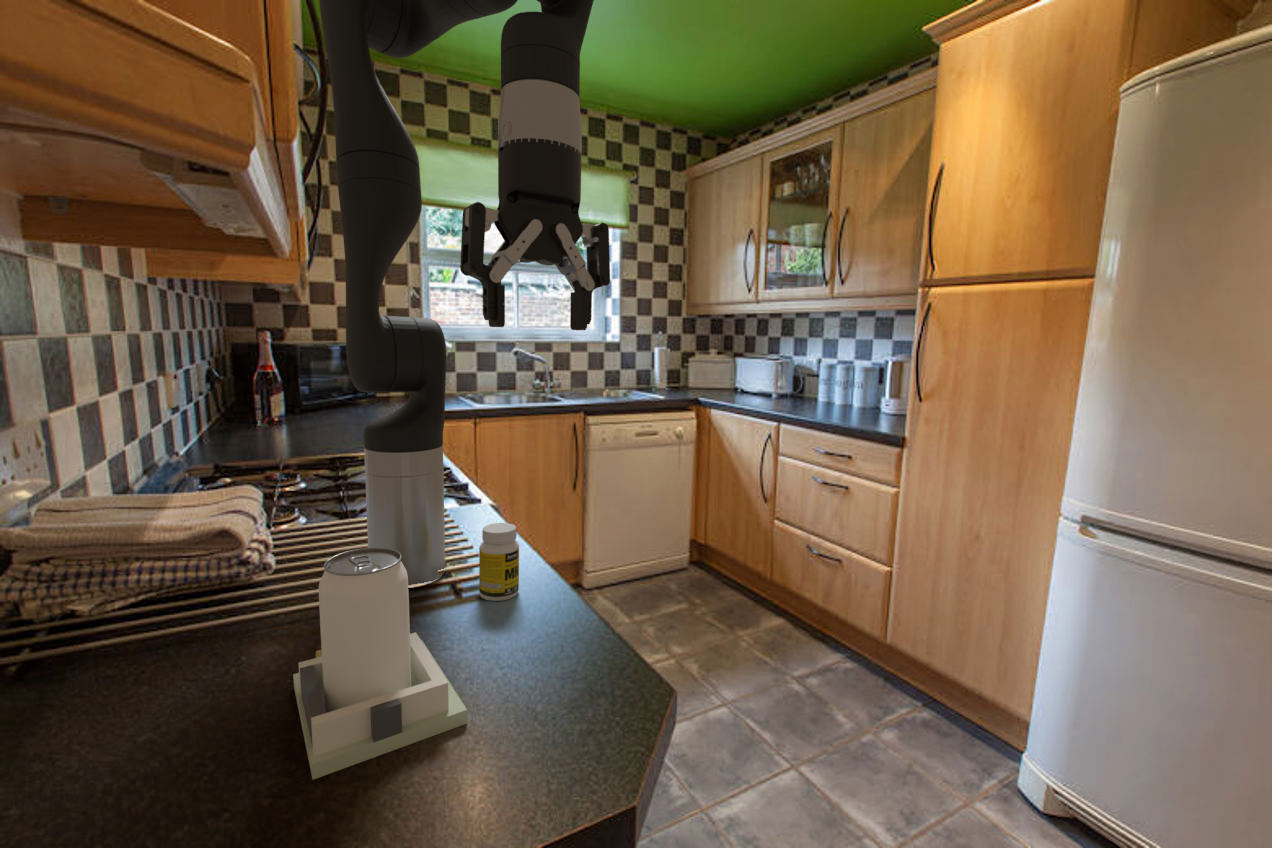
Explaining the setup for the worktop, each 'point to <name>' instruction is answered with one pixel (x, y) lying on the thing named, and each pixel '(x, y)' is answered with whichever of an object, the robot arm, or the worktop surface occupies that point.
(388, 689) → the can
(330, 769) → the socket board
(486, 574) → the supplement bottle
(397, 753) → the worktop surface
